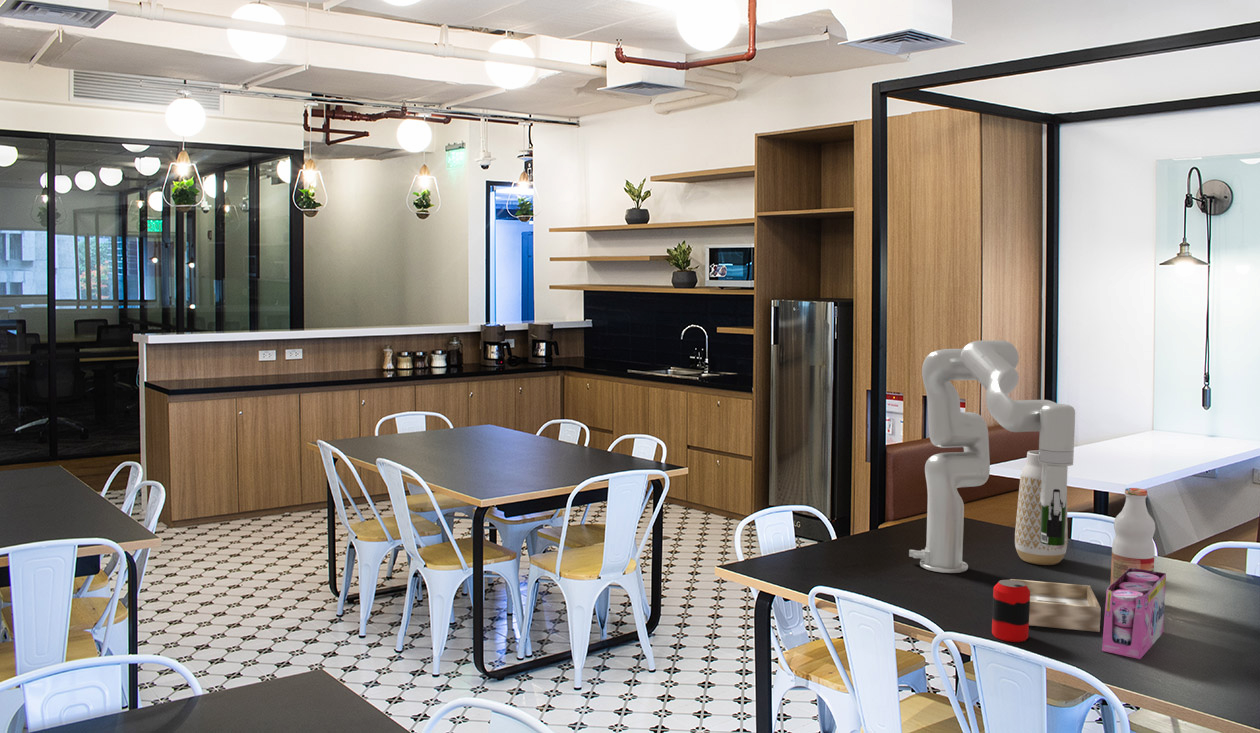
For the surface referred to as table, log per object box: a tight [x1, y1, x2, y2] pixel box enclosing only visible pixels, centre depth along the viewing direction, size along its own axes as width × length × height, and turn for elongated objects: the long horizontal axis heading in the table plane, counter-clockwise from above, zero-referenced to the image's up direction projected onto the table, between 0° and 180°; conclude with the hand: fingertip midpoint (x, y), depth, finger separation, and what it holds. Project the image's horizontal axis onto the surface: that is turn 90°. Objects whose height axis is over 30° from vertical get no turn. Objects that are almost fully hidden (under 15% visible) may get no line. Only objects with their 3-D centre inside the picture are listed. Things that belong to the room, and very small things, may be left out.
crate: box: [1009, 578, 1102, 633], centre depth 245 cm, size 18×18×6 cm
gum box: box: [1101, 568, 1167, 660], centre depth 227 cm, size 24×8×14 cm, turn 142°
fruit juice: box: [1109, 487, 1156, 586], centre depth 255 cm, size 9×9×28 cm
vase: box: [1014, 449, 1069, 566], centre depth 292 cm, size 14×14×31 cm
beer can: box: [1040, 499, 1068, 548], centre depth 243 cm, size 5×5×12 cm
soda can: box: [991, 579, 1030, 643], centre depth 230 cm, size 8×8×12 cm
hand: (1052, 533), depth 243 cm, fingers closed on beer can, 5 cm apart
